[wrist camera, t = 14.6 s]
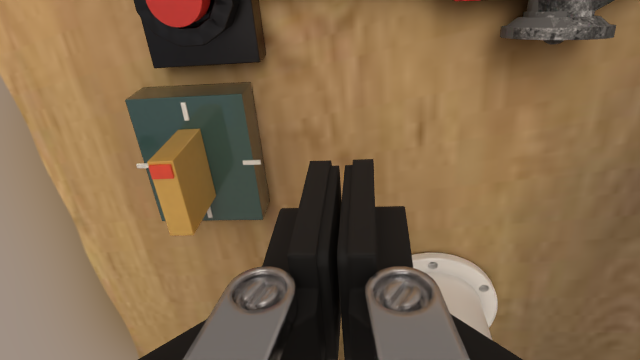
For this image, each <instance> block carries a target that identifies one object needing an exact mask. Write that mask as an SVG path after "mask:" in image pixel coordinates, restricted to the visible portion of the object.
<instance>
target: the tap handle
mask: <svg viewBox="0 0 640 360" xmlns="http://www.w3.org/2000/svg"><path fill="white" fill-rule="evenodd" d="M147 164H148V167H149V171H150V174H151V177H152V179H153V183H154V186H155V189H156V192H157V195H158V198H159V201H160V205H161V208H162V211H163V214H164V217H165V220H166V224H167V227H168V230H169V233H170V236H179V235H194V234H195V232H196V230H197V228H198V227H199V225H200V223H201V221H202V220H203V218H204V216H205V214H206V213H207V211H208V209H209V207H210V206H211V204H212V202H213V200H214V199H215V197H216V193H215V189H214V185H213V180H212V176H211V172H210V168H209V164H208V160H207V155H206V151H205V147H204V143H203V139H202V135H201V131H200V129H182V130H177V131H176V132H175V133H174V134H173V135H172V137H171V138H170V139H169V140H168V141H167V142H166V143H165V144H164V145H163V146H162V147H161V148H160V149H159V150H158V151H157V152H156V153H155V154H154V155H153V156H152V157H151V159H150V160H149V161H148V162H147Z"/></svg>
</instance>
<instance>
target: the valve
mask: <svg viewBox="0 0 640 360" xmlns="http://www.w3.org/2000/svg"><path fill="white" fill-rule="evenodd" d="M454 1H479V0H454ZM613 1H614V0H528V5H527V12H524V13H523V17H517V18H516V19H515V20H513V21H512V22H511V23H509V24H508V25H506V26H501V32H500V37H501V38H509V39H526V40H543V41H545V42H546V43H548V44H559V43H561V42H563V41H564V40H589V39H606V38H613V37H614V34H615V29H616V25H611V24H609V23H607V22H606V21H605V20H604V19H603V18H602V17H601V16H594V13H595V11H596V10H598V9H599V8H601V7H603V6H605V5H607V4H609V3H611V2H613Z"/></svg>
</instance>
